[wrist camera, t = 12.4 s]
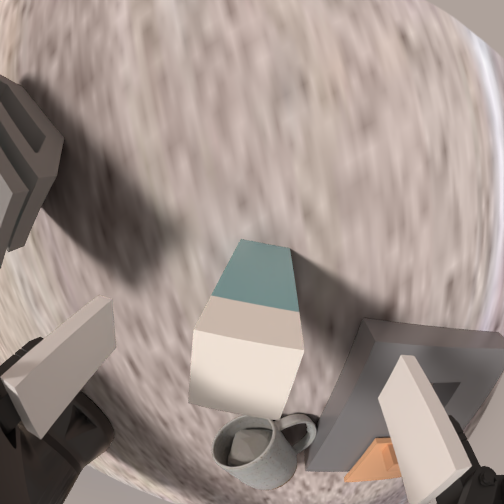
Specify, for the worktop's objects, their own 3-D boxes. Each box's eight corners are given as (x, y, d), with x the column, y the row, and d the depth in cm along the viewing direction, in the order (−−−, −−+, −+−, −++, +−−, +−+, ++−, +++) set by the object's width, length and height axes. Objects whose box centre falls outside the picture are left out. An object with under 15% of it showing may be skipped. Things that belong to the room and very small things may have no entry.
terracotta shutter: (402, 472, 26) (408, 492, 22) (344, 477, 26) (347, 500, 22) (437, 432, 23) (447, 454, 19) (375, 438, 23) (382, 464, 20)
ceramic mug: (249, 454, 31) (244, 500, 24) (216, 420, 30) (204, 471, 22) (325, 433, 29) (331, 482, 22) (299, 395, 28) (304, 450, 20)
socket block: (427, 443, 29) (435, 461, 25) (304, 447, 30) (305, 471, 26) (498, 332, 24) (515, 348, 20) (363, 317, 24) (375, 341, 20)
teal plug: (279, 293, 24) (279, 420, 11) (233, 284, 24) (188, 403, 11) (289, 248, 23) (304, 350, 10) (240, 239, 23) (193, 329, 10)
